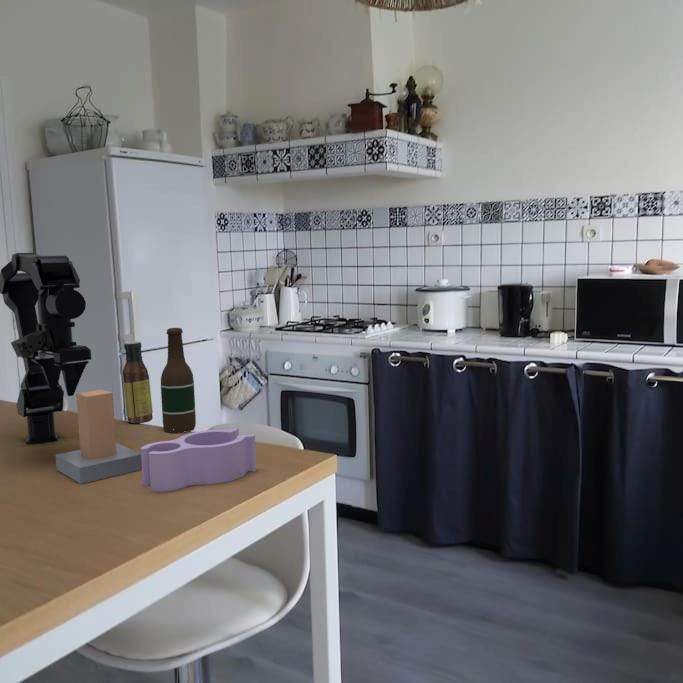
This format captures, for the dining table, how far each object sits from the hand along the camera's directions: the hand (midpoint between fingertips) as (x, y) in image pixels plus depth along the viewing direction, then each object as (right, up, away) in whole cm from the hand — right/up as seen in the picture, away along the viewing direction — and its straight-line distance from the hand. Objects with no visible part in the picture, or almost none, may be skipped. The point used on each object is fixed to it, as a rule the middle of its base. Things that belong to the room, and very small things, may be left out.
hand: (61, 393), depth 142 cm
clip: (+31, -15, -15) cm, 38 cm away
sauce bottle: (+7, -9, +30) cm, 32 cm away
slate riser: (+11, -14, -9) cm, 20 cm away
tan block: (+11, -11, -9) cm, 18 cm away
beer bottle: (+19, -10, +21) cm, 30 cm away
